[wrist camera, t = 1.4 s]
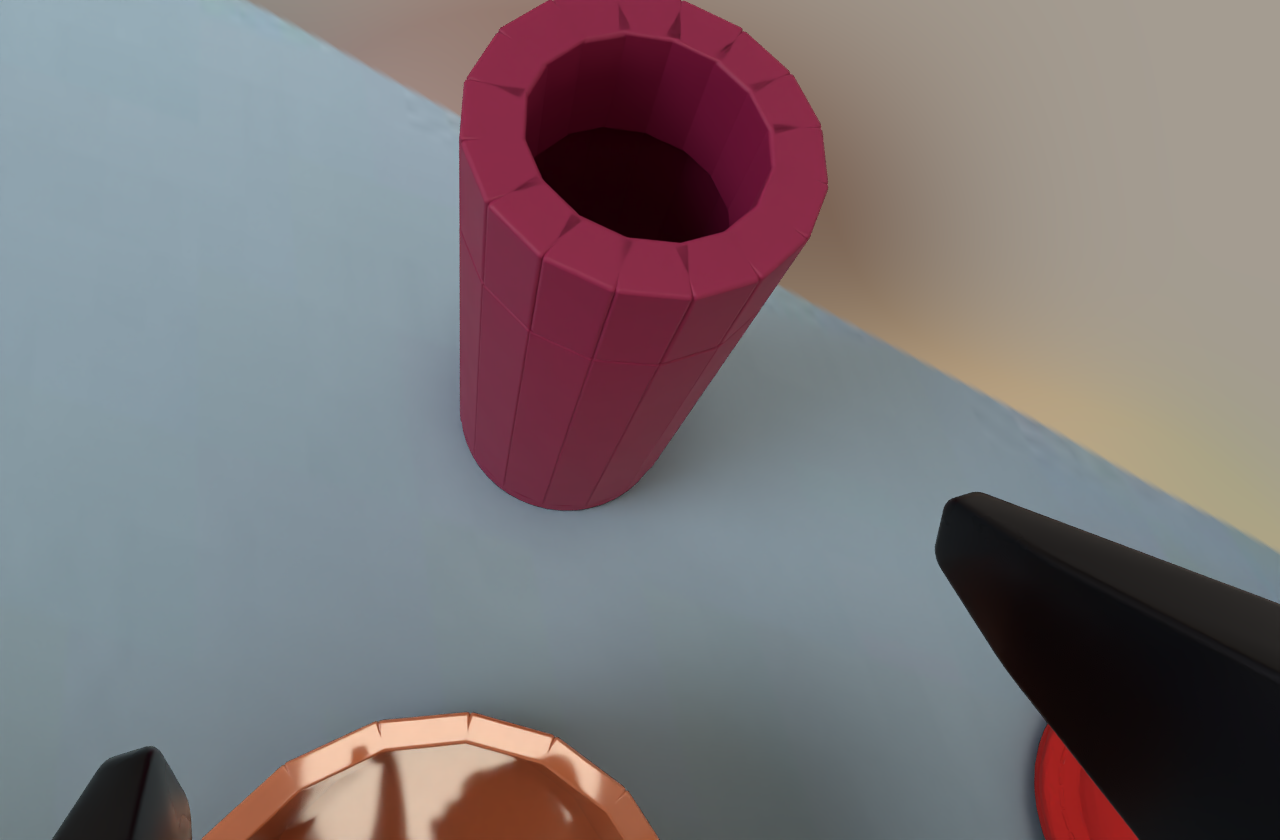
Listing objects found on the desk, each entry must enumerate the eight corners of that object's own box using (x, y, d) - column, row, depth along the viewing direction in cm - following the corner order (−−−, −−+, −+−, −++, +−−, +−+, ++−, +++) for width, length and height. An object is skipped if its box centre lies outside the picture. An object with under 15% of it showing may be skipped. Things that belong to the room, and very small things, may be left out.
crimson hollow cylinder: (702, 421, 27) (895, 163, 15) (561, 554, 24) (656, 372, 12) (567, 287, 27) (648, -60, 16) (417, 403, 25) (377, 96, 13)
